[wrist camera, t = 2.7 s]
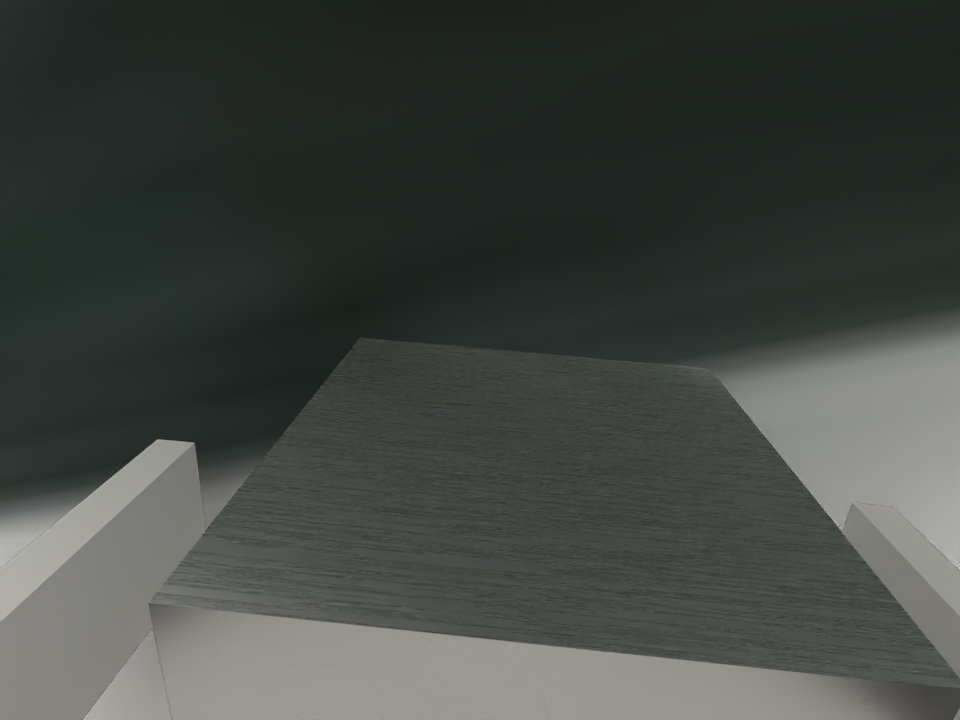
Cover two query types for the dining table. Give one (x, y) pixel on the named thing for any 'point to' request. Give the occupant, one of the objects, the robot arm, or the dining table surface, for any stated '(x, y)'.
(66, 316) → the dining table surface
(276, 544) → the steel block
